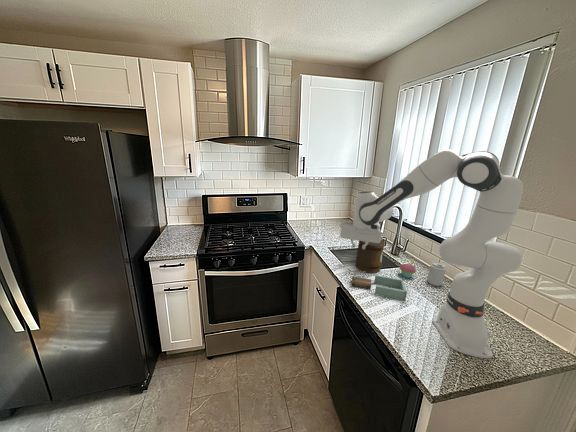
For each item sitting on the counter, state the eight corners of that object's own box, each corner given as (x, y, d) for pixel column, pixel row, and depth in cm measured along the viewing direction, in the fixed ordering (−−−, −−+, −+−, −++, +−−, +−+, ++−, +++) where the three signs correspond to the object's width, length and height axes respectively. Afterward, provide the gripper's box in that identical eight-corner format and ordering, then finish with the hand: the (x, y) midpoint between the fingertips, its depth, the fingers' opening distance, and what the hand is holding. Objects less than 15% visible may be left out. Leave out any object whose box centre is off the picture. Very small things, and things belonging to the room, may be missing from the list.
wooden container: (385, 272, 144) (391, 238, 138) (364, 274, 139) (369, 239, 133) (370, 261, 157) (375, 229, 151) (350, 263, 153) (354, 231, 147)
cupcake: (412, 273, 143) (416, 255, 140) (415, 280, 135) (420, 261, 132) (397, 271, 145) (400, 253, 142) (399, 278, 137) (403, 259, 134)
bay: (405, 300, 116) (407, 292, 115) (374, 294, 120) (376, 286, 119) (401, 287, 128) (403, 279, 127) (374, 282, 132) (375, 274, 131)
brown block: (370, 290, 124) (372, 281, 122) (351, 286, 127) (352, 277, 125) (370, 283, 130) (371, 275, 128) (351, 280, 133) (352, 271, 131)
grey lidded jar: (434, 287, 129) (439, 267, 126) (423, 280, 136) (427, 261, 133) (445, 286, 131) (450, 266, 128) (434, 279, 138) (438, 260, 135)
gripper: (340, 221, 120) (337, 247, 124) (383, 227, 114) (379, 253, 118) (341, 218, 126) (339, 242, 129) (382, 223, 120) (378, 248, 124)
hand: (358, 247), depth 123 cm, fingers open, 4 cm apart
